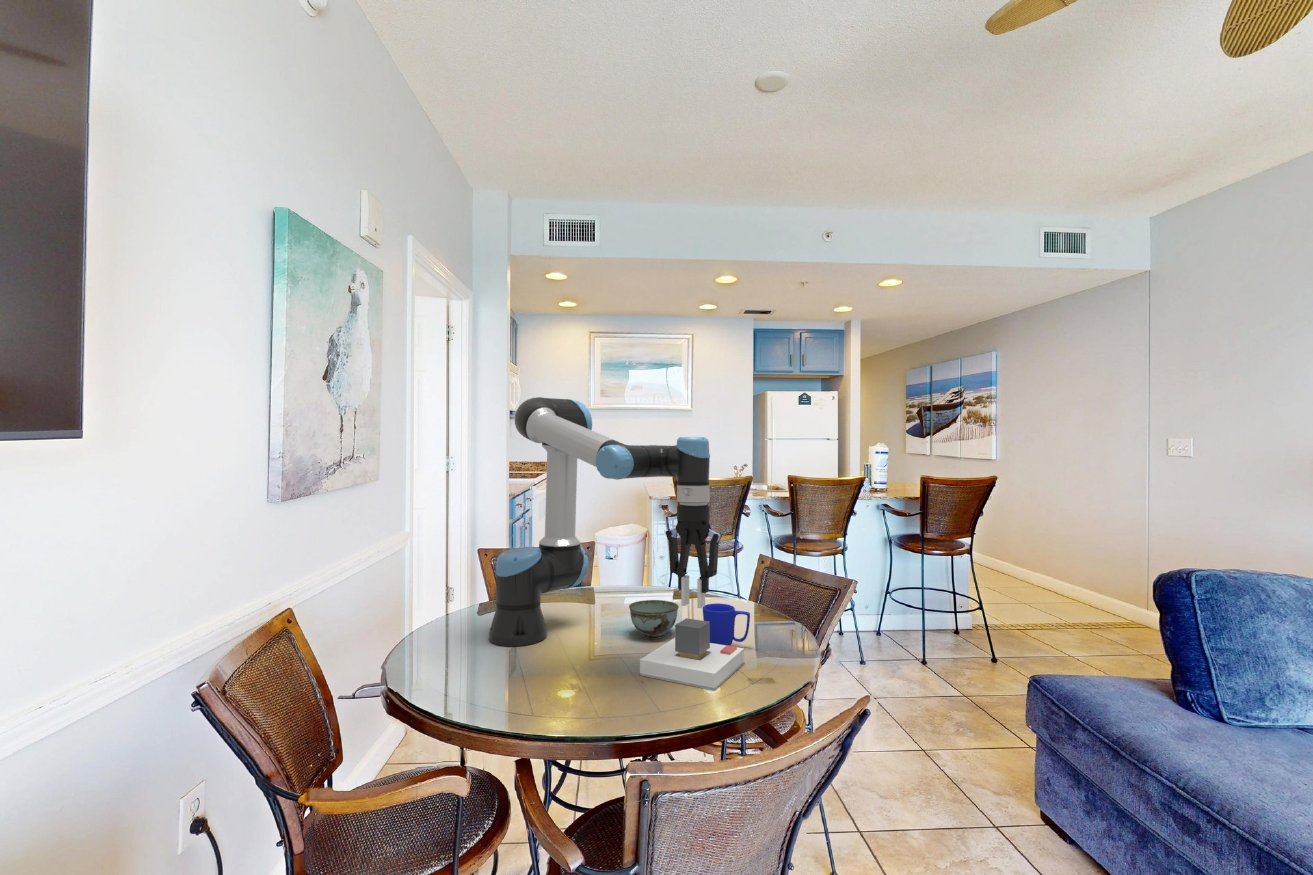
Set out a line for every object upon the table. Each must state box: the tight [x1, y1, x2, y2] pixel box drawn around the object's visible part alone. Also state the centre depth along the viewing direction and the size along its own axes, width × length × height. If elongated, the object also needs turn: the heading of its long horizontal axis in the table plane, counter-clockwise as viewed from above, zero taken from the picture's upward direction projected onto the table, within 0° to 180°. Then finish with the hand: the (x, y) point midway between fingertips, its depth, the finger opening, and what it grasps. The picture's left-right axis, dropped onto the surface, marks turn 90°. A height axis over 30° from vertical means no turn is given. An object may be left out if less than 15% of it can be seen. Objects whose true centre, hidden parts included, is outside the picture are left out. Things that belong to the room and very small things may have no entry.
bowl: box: [628, 599, 680, 639], centre depth 164 cm, size 14×13×8 cm
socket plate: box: [639, 637, 745, 691], centre depth 138 cm, size 18×18×4 cm
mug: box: [702, 602, 751, 646], centre depth 154 cm, size 8×12×10 cm
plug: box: [674, 617, 710, 661], centre depth 138 cm, size 6×6×10 cm
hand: (693, 605), depth 138 cm, fingers open, 3 cm apart
